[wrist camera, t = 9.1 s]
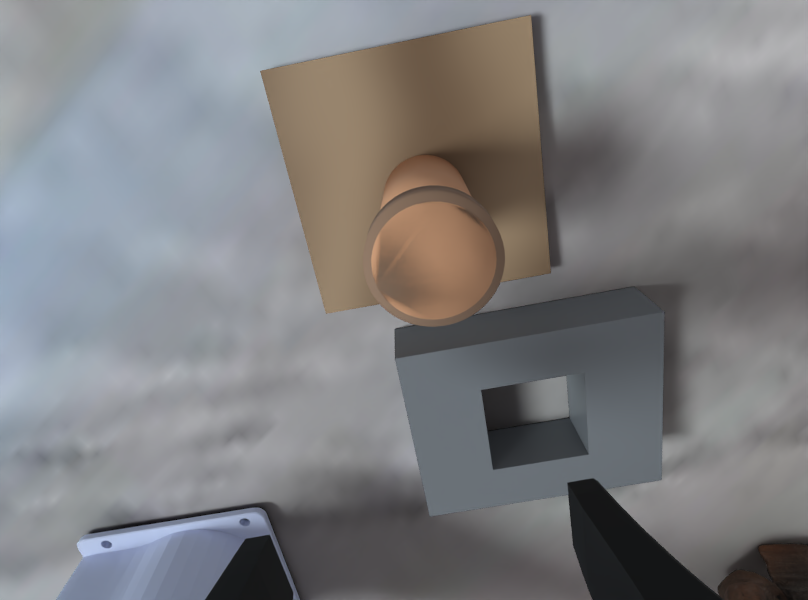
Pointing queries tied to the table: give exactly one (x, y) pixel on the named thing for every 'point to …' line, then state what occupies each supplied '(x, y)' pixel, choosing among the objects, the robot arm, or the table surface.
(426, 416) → the socket
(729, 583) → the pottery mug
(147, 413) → the table surface
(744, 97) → the table surface
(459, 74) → the coaster
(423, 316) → the plug
